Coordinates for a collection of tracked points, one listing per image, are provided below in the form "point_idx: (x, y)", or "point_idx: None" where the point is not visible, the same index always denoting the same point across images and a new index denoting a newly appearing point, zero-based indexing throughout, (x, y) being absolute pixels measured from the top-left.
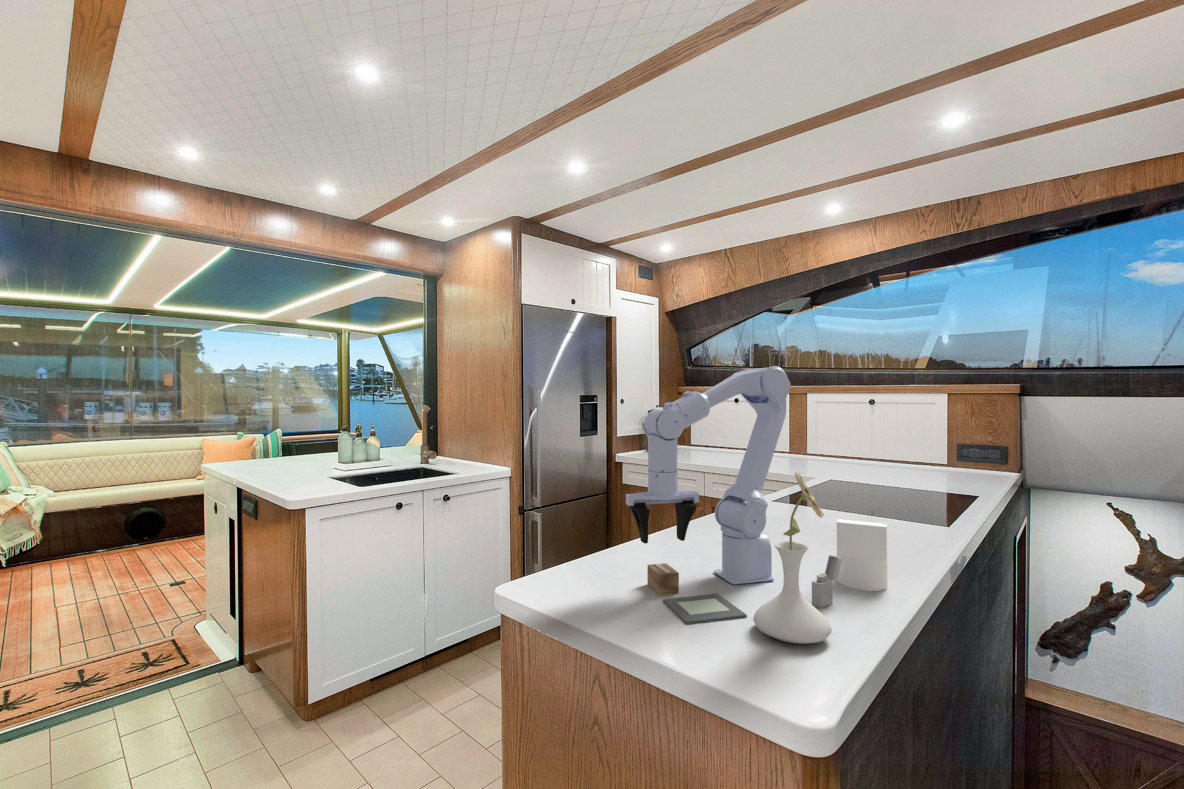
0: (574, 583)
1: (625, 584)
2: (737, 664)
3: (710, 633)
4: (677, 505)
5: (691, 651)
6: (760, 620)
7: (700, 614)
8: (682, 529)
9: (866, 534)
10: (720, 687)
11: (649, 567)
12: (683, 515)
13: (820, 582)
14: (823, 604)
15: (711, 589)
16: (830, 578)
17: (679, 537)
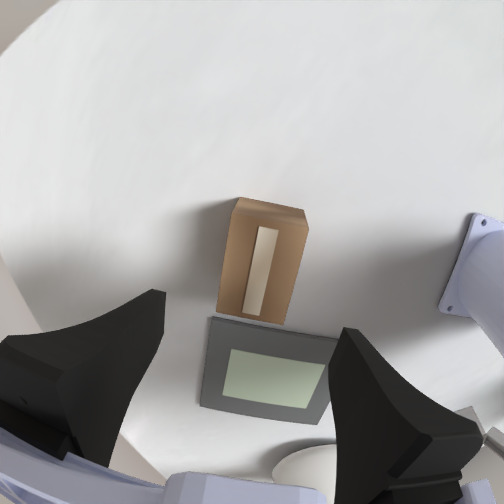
0: (60, 112)
1: (176, 168)
2: (202, 470)
3: (219, 430)
4: (388, 461)
5: (166, 441)
6: (277, 475)
7: (241, 399)
8: (334, 406)
9: None
10: (162, 474)
11: (228, 231)
12: (342, 470)
13: None
14: None
15: (376, 307)
16: (483, 440)
17: (335, 355)
